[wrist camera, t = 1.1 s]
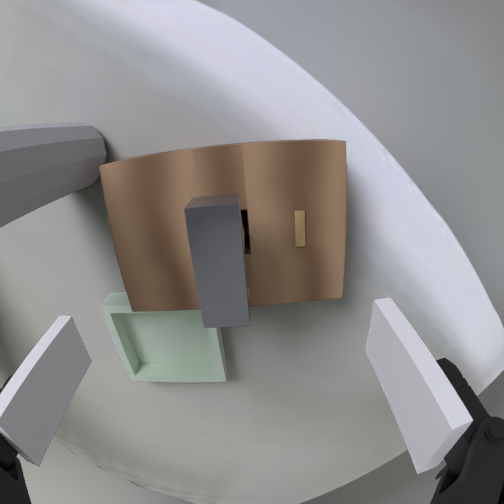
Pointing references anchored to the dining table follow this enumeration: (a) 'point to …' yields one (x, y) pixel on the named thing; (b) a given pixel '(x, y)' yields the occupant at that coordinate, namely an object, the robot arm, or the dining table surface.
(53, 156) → the water bottle
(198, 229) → the t key
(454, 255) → the dining table surface
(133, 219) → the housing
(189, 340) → the tray
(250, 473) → the dining table surface
